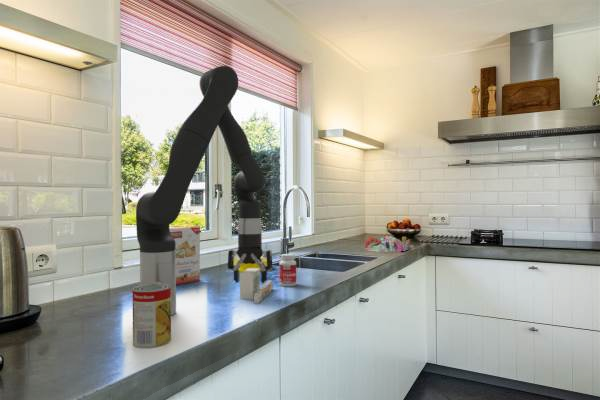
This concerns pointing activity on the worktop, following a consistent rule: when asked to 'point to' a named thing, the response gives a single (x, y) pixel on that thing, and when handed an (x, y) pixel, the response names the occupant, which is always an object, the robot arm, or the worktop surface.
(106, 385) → the worktop surface
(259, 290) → the rail
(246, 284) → the product carton
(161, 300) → the canned food
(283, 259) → the pill bottle
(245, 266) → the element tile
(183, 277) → the cracker box
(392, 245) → the candy landscape model
